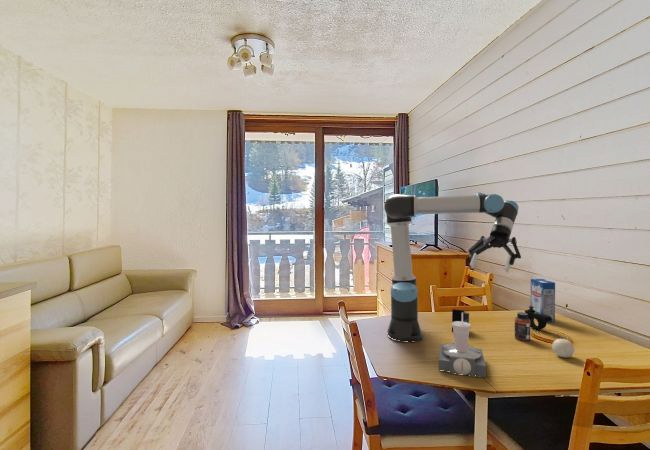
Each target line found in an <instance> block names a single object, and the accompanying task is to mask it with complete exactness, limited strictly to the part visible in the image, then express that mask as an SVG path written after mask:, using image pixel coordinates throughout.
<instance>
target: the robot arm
mask: <svg viewBox="0 0 650 450" xmlns="http://www.w3.org/2000/svg"><path fill="white" fill-rule="evenodd" d="M519 207H520V206H519V204H518V203H517V202H516V201H514V200H507V199H505V200H504V198H503V197H502V196H501V195H499V194H496V193H490V194H485V193H482V192H477V193H476V194H475V195H474V194H473V195H472V194H470V195H468V194H467V195H449V196H448V195H447V196H446V195H445V196H443V195H442V196H440V195H439V196H419V197H418V196H416V195H415V194H414V195H412V194H408V195H407V194H399V193H394V194H392V195H389V196H388V198H387V197H386V199H385V202H384V207H383V208H384V212H385V214H386V224H387V225H389V227H390V234H391V247H392V257H393V258H392V260H393V270H394V274H393V276H392V277H391V288H390V289H391V290H390V307H391V308H390V312H391V313H390V314H391V315H390V316H391V317H390V318H391V319H390V322H389V325H388V328H387V333H388V334H387V336H388V335H389V336H390V337H391V338H393V339H396V340H400V341H408V342H410V343H413V342H412V341H417V342H419V341H421V340H422V339H423V333H422V329H421V327H420V323H419V320H418V319H419V318H418V316H419V315H418V314H419V313H418V312H419V311H418V306H419V305H418V303H419V302H418V300H419V298H418V297H419V290H418V285H417V284H418V283H417V276H415V274H413V265H412V252H411V251H412V250H411V237H410V228H409V226H410V224H411V223H412V217H413V218H414V217H416V216H417V215H443V214H444V215H445V214H446V215H448V214H477V213H478V214H481V213H482V214H483V213H484V214H486V215H488V216H491V218H492V217H493V218H495V219H494V222H493V225H492V228H491V230H490V234H489V236H488V237H486V236H485V235H482V236H480V239H479V240H477V241H476V242H475V243H474V244H473V245H472V246H471V247H469V249H468V253H469V256H470V255H471V256H470V257H469V258H470V259H469V260H470V263H469V266H470V269H472V270H473V269H475V266H476V262H477V260H478V258H479V256H478V255H480V254H482V253H483V252H485V251H486V250H488V249H489V250H490V249H491V248H492V249H493V248H494V249H496V248H498V249H501V248H503V249H504V250H505V252H507V254H508V256H507V259H506V262H505V266H504V271H505V272H506V273H507V274H508V273H509V272H510V269H511V266H514V264H515V261H516V259H521V258H522V255H521V252H520V250H519V248H518V246H517V237H516V236H513V237H512V238H510V237H511V234H512V231H513V228H514V225H515V221H516V219H517V216H518V213H519ZM509 243H510V244H512V246H513V249H514V251H515V253H514V251H513V250H512V249H511V247H509V246H508V245H507V244H509ZM421 338H422V339H421ZM420 339H421V340H420ZM418 340H419V341H418Z"/></svg>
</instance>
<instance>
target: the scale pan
mask: <svg viewBox="0 0 650 450" xmlns="http://www.w3.org/2000/svg"><path fill="white" fill-rule="evenodd" d="M477 348H478V347H475V346H473V345H471V344H467V351H466V352H459V351H457V350H456V348H455V342H452V343H451V342H450V343H446V344H444V346H443V347H442V351H443V353H444V354H445V355H447V356H448V357H450V356H455V357H463V358H471V359H475V360H477V359H479V358H480V357H481V352H480V350H479V349H480V348H478V349H477Z"/></svg>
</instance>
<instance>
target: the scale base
mask: <svg viewBox="0 0 650 450" xmlns="http://www.w3.org/2000/svg"><path fill="white" fill-rule="evenodd" d="M444 345H445V344H443V343H442V344H441V343H440V344H439V356H438V371H439V370H444V371H450V373H456V374H463V375H470V376H475V375H476V376H481V377H480V378H483V377H486V378H487V365H486V361H485V360H486V359H485V356H484V353H483V348H479V347H476V348H477V349H479V350H480V352H481V357H480V358H479V359H477V360H475V359H471V358H463V357H455V356H450V357H448V356H447V355H445V354H444V353H443V351H442V347H443V346H444ZM450 373H449V374H450ZM476 376H475V377H476Z"/></svg>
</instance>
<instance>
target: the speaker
mask: <svg viewBox="0 0 650 450" xmlns="http://www.w3.org/2000/svg"><path fill="white" fill-rule="evenodd" d="M451 310H452V311H451V312H452V315H451V323H452V322H455V321H462V312H463V322H467V323H469V324H470V312H465V310H463V309H456V308H455V309H454V308H452V309H451ZM451 332H453V327H452V326H451ZM453 333H454V332H453Z"/></svg>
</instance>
